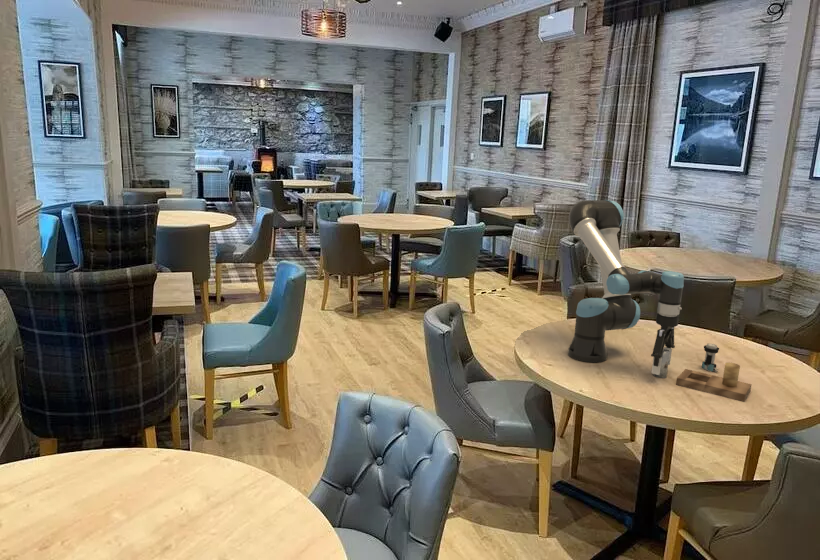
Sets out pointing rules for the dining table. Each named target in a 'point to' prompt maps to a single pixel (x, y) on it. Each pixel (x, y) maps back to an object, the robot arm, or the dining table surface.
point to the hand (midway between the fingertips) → (660, 369)
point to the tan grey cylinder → (664, 364)
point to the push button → (710, 357)
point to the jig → (717, 382)
